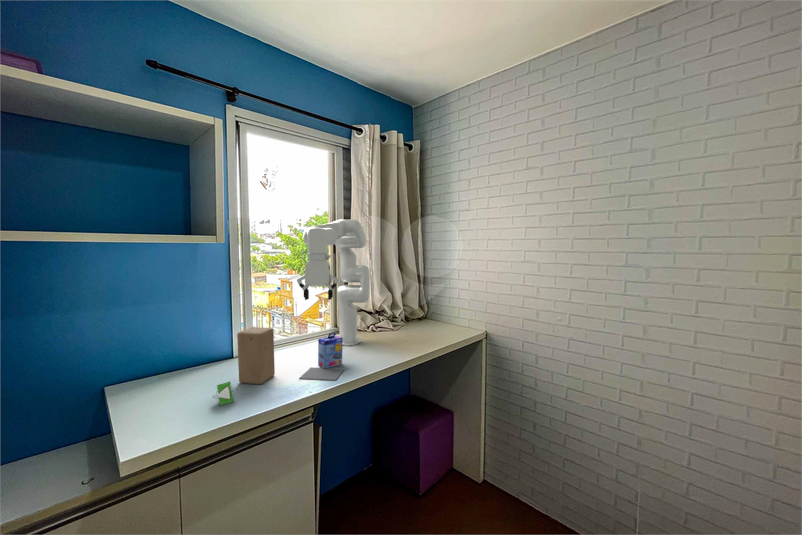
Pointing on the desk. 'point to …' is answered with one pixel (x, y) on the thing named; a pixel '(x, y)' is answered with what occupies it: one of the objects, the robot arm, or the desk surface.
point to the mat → (322, 374)
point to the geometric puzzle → (225, 393)
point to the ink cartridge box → (330, 351)
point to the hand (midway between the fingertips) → (318, 299)
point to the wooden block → (256, 355)
